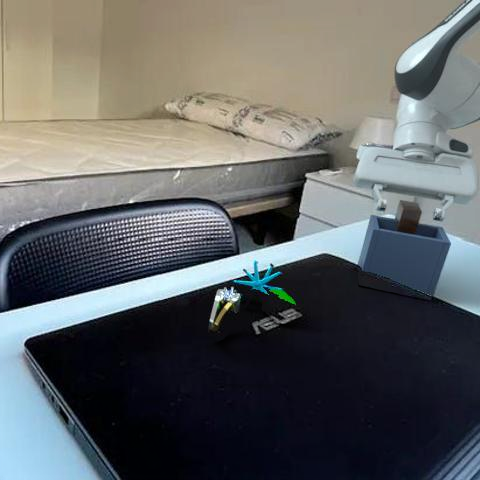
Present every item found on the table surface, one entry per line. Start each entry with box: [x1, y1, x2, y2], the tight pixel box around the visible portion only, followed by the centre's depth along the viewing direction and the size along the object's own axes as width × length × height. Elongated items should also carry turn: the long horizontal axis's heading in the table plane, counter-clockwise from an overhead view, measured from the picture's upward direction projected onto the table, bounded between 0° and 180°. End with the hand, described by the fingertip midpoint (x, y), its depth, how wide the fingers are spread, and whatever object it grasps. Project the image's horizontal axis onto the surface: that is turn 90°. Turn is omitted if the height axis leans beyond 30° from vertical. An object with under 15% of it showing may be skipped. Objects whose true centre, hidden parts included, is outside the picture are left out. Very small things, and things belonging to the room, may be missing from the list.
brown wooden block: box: [394, 199, 423, 235], centre depth 90 cm, size 3×6×9 cm, turn 161°
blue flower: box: [233, 259, 297, 305], centre depth 79 cm, size 12×7×8 cm
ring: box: [208, 286, 242, 332], centre depth 68 cm, size 7×3×8 cm, turn 142°
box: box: [357, 214, 452, 297], centre depth 88 cm, size 12×8×11 cm, turn 72°
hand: (409, 214), depth 88 cm, fingers open, 8 cm apart
